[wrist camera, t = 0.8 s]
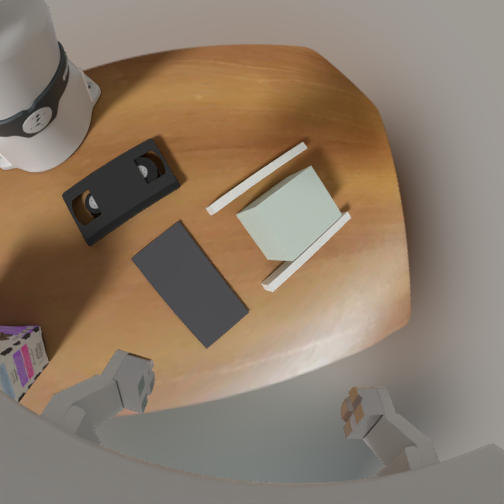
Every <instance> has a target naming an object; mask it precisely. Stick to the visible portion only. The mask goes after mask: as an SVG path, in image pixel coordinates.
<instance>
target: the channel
mask: <svg viewBox="0 0 504 504" xmlns="http://www.w3.org/2000/svg"><path fill="white" fill-rule="evenodd" d="M305 149H307V147H306V145H305V144H304V142H302V143H300V144H299V145H297V146H296V147H294V148H292V149H291V150H289V151H288V152H286V153H285V154H283V155H282V156H280V157H279V158H277V159H276V160H274V161H273V162H271V163H270V164H268V165H267V166H265V167H264V168H262V169H261V170H259V171H258V172H256V173H255V174H253V175H252V176H251V177H249V178H248V179H246V180H245V181H243V182H242V183H240V184H239V185H238V186H236V187H235V188H233V189H232V190H231V191H229V192H228V193H226V194H225V195H224V196H222V197H221V198H219V199H218V200H217V201H215V202H214V203H213V204H211V205H210V206H208V207H207V208H206V210H207V211H208V213H209V214H210V215H213V214H215V213H216V212H218V211H219V210H220V209H222V208H223V207H224V206H226V205H227V204H228V203H230V202H231V201H232V200H234V199H235V198H237V197H238V196H239V195H241V194H242V193H243V192H245V191H246V190H248V189H249V188H250V187H252V186H253V185H255V184H256V183H257V182H259V181H260V180H262V179H263V178H264V177H266V176H267V175H269V174H270V173H272V172H273V171H274V170H276V169H277V168H279V167H280V166H282V165H283V164H285V163H286V162H288V161H289V160H291V159H292V158H293V157H295V156H296V155H298V154H299V153H301V152H302V151H304V150H305ZM341 214H342V216H341V217H340V218H339V219H338V220H337V221H336V222H335V223H333V224H332V225H331V226H330V227H329V228H328V229H327V230H326V231H325V232H324V233H323V234H322V235H321V236H320V237H319V238H317V239H316V240H315V241H314V242H313V243H312V244H311V245H310V246H309V247H308V248H307V249H306V250H305V251H303V252H302V253H301V254H300V255H299V256H298V257H297V258H296V259H295V260H294V261H285V262H284V263H283V264H282V265H281V266H280V267H279V268H278V269H276V270H275V271H274V272H273V273H272V274H271V275H270V276H269V277H267V278H266V279H265V280H264V281H263V282H262V283H261V284H262V286H263V287H264V288H265V290H268V291H271V292H273V291H274V290H275V289H277V288H278V287H279V286H280V285H281V284H282V283H283V282H284V281H285V280H286V279H287V278H288V277H290V276H291V275H292V274H293V273H294V272H295V271H296V270H297V269H298V268H299V267H300V266H301V265H302V264H304V263H305V262H306V261H307V260H308V259H309V258H310V257H311V256H312V255H313V254H314V253H315V252H316V251H317V250H318V249H319V248H320V247H321V246H322V245H324V244H325V243H326V242H327V241H328V240H329V239H330V238H331V237H332V236H333V235H334V234H335V233H336V232H337V231H338V230H339V229H340V228H341V227H342V226H343V225H344V224H345V223H346V222H347V221H348V220H349V219H350V218H351V217H350V215H349V213H348V212H342V213H341ZM132 260H133V262H134V263H135V264H136V266H137V267H138V268H139V269H140V271H141V272H142V273H143V275H144V276H145V277H146V278H147V280H148V281H149V282H150V283H151V285H152V286H153V287H154V288H155V290H156V291H157V292H158V293H159V295H160V296H161V297H162V298H163V299H164V301H165V302H166V303H167V304H168V305H169V307H170V308H171V309H172V310H173V311H174V313H175V314H176V315H177V316H178V317H179V318H180V320H181V321H182V322H183V323H184V324H185V325H186V326H187V327H188V329H189V330H190V331H191V332H192V333H193V334H194V335H195V336H196V338H197V339H198V340H199V341H200V342H201V343H202V344H203V345H204V346H205V347H206V348H208V347H209V346H211V345H212V344H213V343H214V342H215V341H216V340H218V339H219V338H220V337H221V336H222V335H223V334H225V333H226V332H227V331H228V330H229V329H230V328H232V327H233V326H234V325H235V324H236V323H237V322H238V321H240V320H241V319H242V318H243V317H244V316H245V315H246V314H248V313H249V312H248V310H247V309H246V308H245V307H244V305H243V304H242V303H241V302H240V300H239V299H238V298H237V296H236V295H235V294H234V293H233V291H232V290H231V289H230V288H229V286H228V285H227V284H226V282H225V281H224V280H223V279H222V277H221V276H220V275H219V273H218V272H217V271H216V270H215V268H214V267H213V266H212V264H211V263H210V262H209V260H208V259H207V258H206V257H205V255H204V254H203V253H202V251H201V250H200V249H199V247H198V246H197V245H196V243H195V242H194V241H193V239H192V238H191V237H190V235H189V234H188V233H187V231H186V230H185V229H184V227H183V226H182V225H181V223H180V222H179V221H178V222H177V223H176V224H175V225H173V226H172V227H171V228H169V229H168V230H167V231H165V232H164V233H163V234H162V235H160V236H159V237H158V238H156V239H155V240H154V241H153V242H151V243H150V244H149V245H148V246H146V247H145V248H144V249H143V250H141V251H140V252H139V253H138V254H137V255H135V256H134V257H133V258H132Z"/></svg>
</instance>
